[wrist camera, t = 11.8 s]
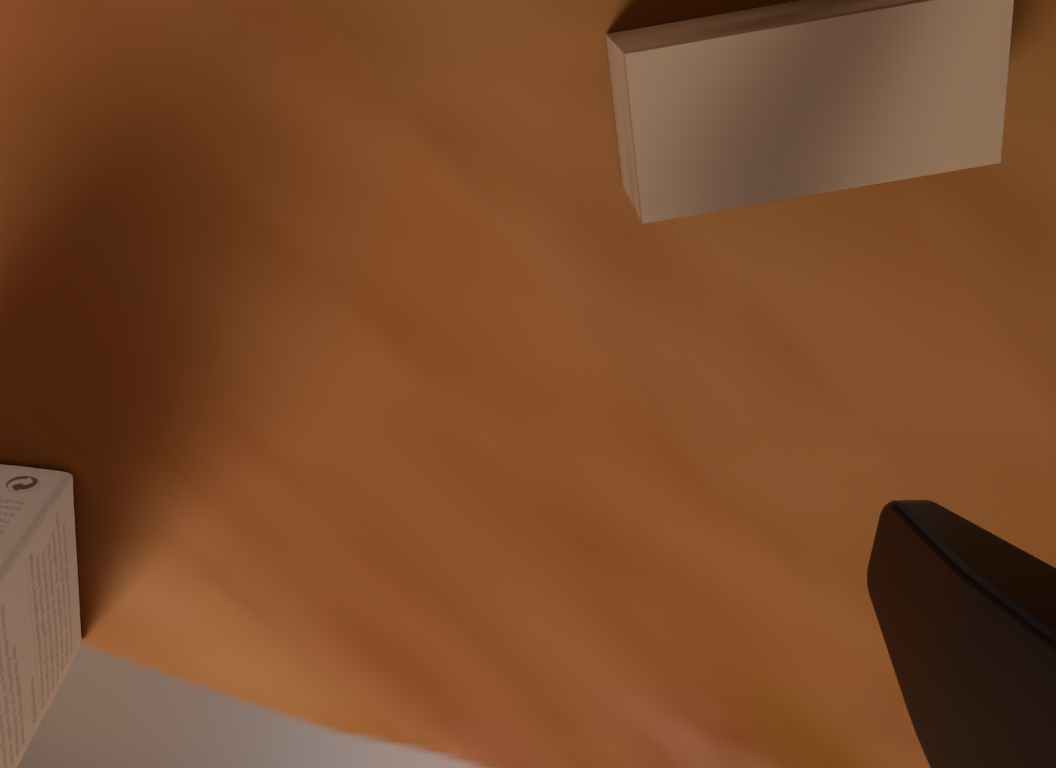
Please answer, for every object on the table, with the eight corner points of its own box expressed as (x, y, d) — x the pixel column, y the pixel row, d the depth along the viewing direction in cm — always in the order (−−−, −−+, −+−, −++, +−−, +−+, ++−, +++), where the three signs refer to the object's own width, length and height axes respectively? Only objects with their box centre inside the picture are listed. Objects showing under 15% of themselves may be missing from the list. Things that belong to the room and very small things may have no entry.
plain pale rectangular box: (946, -26, 19) (1014, -14, 16) (938, 131, 20) (999, 162, 18) (605, 34, 19) (624, 54, 17) (622, 185, 21) (642, 223, 18)
